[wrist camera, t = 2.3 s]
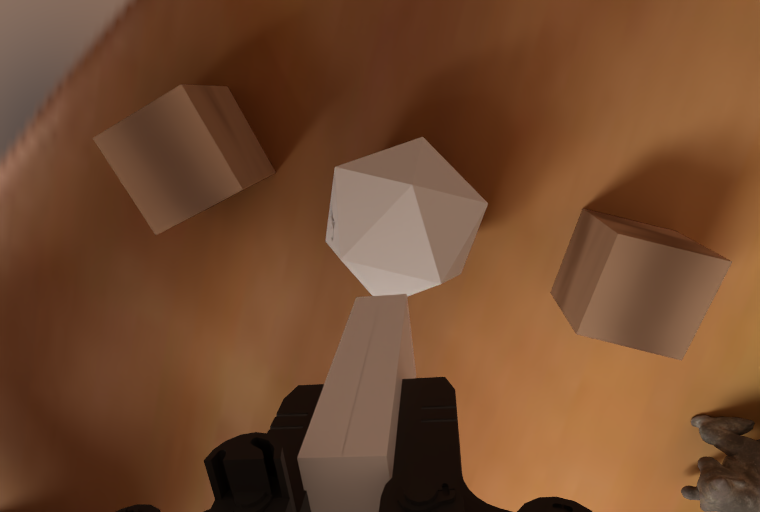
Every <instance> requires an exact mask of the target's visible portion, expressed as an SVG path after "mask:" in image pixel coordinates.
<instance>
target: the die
mask: <svg viewBox="0 0 760 512" xmlns="http://www.w3.org/2000/svg"><path fill="white" fill-rule="evenodd" d="M487 205H488V203H487V202H486V201H485V200H484V199H483V198H482V197H481V196H480V195H479V194H478V193H477V192H476V191H475V189H474V188H473V187H472V186H471V185H470V184H469V183H468V182H467V181H466V180H465V179H464V178H463V177H462V176H461V175H460V174H459V173H458V172H457V171H456V170H455V169H454V168H453V167H452V166H451V165H450V164H449V163H448V162H447V161H446V160H445V159H444V158H443V157H442V156H441V155H440V154H439V153H438V152H437V151H436V150H435V149H434V148H433V147H432V146H431V145H430V144H429V143H428V141H427V140H426V139H425V138H424V137H420V138H417V139H415V140H412V141H409V142H406V143H403V144H400V145H397V146H394V147H391V148H388V149H385V150H383V151H380V152H377V153H374V154H371V155H368V156H365V157H362V158H359V159H356V160H353V161H351V162H348V163H345V164H342V165H339V166H336V167H335V169H334V177H333V185H332V193H331V201H330V209H329V217H328V225H327V233H326V242H327V244H328V245H329V246H330V247H331V248H332V250H333V251H334V252H335V253H336V255H337V256H338V257H339V258H340V260H341V261H342V262H343V263H344V264H345V265H346V266H347V267H348V269H349V270H350V271H351V272H352V273H353V274H354V275H355V276H356V278H357V279H358V280H359V281H360V282H361V283H362V284H363V285H364V287H365V288H366V289H367V290H368V291H369V292H370V293H371V294H372V296H383V295H396V294H407V296H410V295H413V294H415V293H418V292H421V291H423V290H426V289H429V288H432V287H434V286H437V285H440V284H442V283H444V282H446V281H448V280H450V279H452V278H454V277H456V276H458V275H460V274H461V272H462V270H463V267H464V265H465V262H466V260H467V257H468V254H469V252H470V249H471V247H472V244H473V242H474V239H475V236H476V234H477V231H478V229H479V226H480V223H481V221H482V218H483V216H484V213H485V211H486V208H487Z"/></svg>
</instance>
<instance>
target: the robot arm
mask: <svg viewBox="0 0 760 512" xmlns="http://www.w3.org/2000/svg"><path fill="white" fill-rule="evenodd" d="M204 463H205V466H206V470H207V473H208V477H209V480H210V483H211V487H212V490H213V494H214V497H215V501H214V503H213V505H212V507H211V509H209V510H206V511H204V512H511V511H508V510H504V509H500V508H497V507H495V506H492V505H489V504H487V503H485V502H484V501H482V500H481V499H479V498H477V497H476V496H475V495H474V494H473V493H472V492H471V491H470V490H469V489H468V487H467V485H466V484H465V482H464V480H463V476H462V467H461V455H460V442H459V430H458V419H457V407H456V395H455V389H454V388H453V387H452V385H451V384H450V383H449V381H448V380H447V379H446V378H445V377H433V378H416V370H415V361H414V353H413V344H412V335H411V326H410V318H409V309H408V300H407V294H396V295H383V296H369V297H356V300H355V302H354V305H353V308H352V310H351V313H350V316H349V319H348V321H347V324H346V327H345V329H344V332H343V335H342V338H341V340H340V343H339V346H338V348H337V351H336V354H335V357H334V359H333V362H332V365H331V367H330V370H329V373H328V376H327V378H326V381H325V384H319V385H298V386H297V387H296V388H295V389H294V390H293V391H292V392H291V393H290V394H289V395H287V396H286V397H285V398H284V399H283V402H282V404H281V406H280V408H279V410H278V412H277V416H276V417H275V418H274V420H273V422H272V424H271V426H270V430H269V431H268V433H267V434H266V433H257V432H255V433H249V434H243V435H239V436H237V437H234V438H232V439H229V440H227V441H225V442H224V443H222V444H221V445H219V446H218V447H216V448H215V449H214V450H213V451H212V452H211V453H210V454H209V455H208V456H207V457H206V459H205V460H204ZM116 512H161V511H160V510H159V509H157V508H156V507H154V506H152V505H134V506H130V507H127V508H123V509H120V510H118V511H116ZM517 512H592V511H591V510H589V509H587V508H586V507H584V506H582V505H580V504H579V503H577V502H575V501H572V500H568V499H563V498H559V497H540V498H537V499H534V500H532V501H530V502H527V503H525V504H524V505H523V506H522V507H521V508H520V509H519V510H518V511H517Z"/></svg>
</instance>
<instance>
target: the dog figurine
mask: <svg viewBox="0 0 760 512" xmlns="http://www.w3.org/2000/svg"><path fill="white" fill-rule="evenodd" d="M691 424H692V426H695V427H698V428H699V433H700V435H701V438H702V439H703V440H704V441H705V442H706V443H708V444H712V445H714V446H715V447H716V448H718V449H719V450H721V451H723V452H724V453H725V454H726V455H727V456H726V457H725V459H724V461H723V463H722V465H721V464H720V462H718V461H717V460H715V459H713V458H711V457H702V458H700V459H699V461H698V468H699V469H700V477H699V480H698V483H697V487H693V486H685V487H683V488H682V490H681V493H682V495H683V497H684V498H687V499H690V500H700V507H701V509H702V510H703V511H709V512H712V511H717V512H760V439H759V440H753V439H751V438H748V437H744V436H741V435H743V434H745V433H748V432H749V431H751V430H752V429H753V426H754V424H755V422H754V421H751V420H747V419H742V418H737V417H716V418H711V417H709V416H707V415H701V416H696V417H694V418H693V419H692V420H691Z"/></svg>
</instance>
